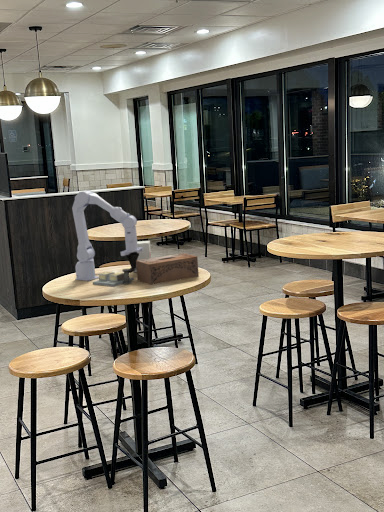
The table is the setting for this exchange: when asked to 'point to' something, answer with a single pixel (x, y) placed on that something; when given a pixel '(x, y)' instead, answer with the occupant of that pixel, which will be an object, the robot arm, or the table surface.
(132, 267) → the swing bar
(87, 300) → the table surface
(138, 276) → the tissue box cover
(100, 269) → the table surface
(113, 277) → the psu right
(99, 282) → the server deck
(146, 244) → the supplement box
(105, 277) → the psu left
